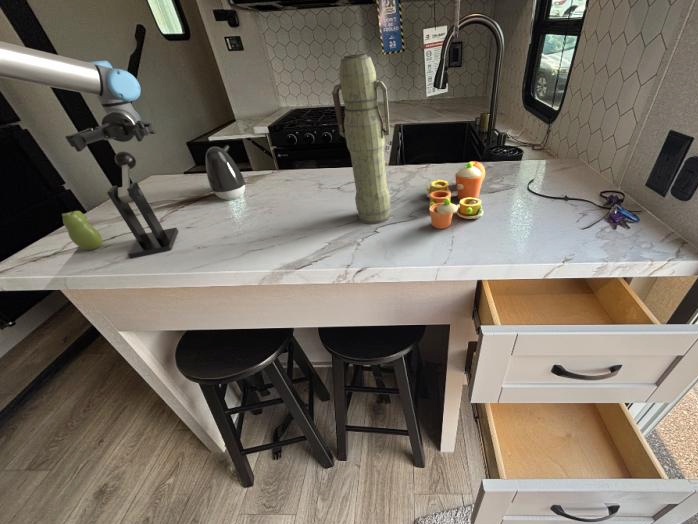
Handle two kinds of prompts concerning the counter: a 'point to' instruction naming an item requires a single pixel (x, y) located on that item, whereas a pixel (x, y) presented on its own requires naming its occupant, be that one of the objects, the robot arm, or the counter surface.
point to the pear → (81, 230)
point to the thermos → (364, 135)
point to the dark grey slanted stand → (144, 241)
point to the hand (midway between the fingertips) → (106, 140)
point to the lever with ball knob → (125, 174)
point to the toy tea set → (466, 191)
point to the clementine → (478, 167)
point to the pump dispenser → (224, 174)
